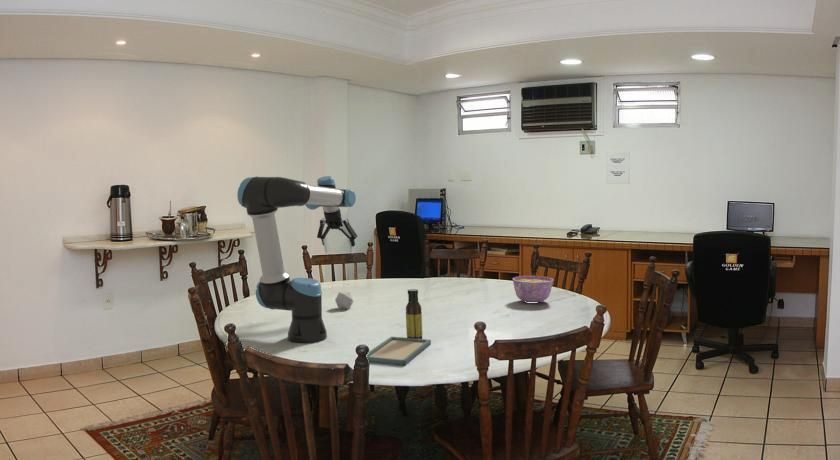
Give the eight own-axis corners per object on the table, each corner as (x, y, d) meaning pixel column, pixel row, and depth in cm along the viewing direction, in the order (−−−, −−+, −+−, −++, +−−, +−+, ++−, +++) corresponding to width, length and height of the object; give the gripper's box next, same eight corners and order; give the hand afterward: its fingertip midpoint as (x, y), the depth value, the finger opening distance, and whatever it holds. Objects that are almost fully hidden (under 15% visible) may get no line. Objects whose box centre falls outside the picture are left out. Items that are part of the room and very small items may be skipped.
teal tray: (391, 341, 250) (391, 336, 250) (430, 344, 245) (430, 339, 245) (361, 361, 224) (361, 356, 224) (404, 365, 219) (404, 360, 218)
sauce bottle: (422, 337, 255) (421, 287, 253) (423, 342, 248) (422, 291, 246) (405, 338, 254) (405, 288, 252) (406, 342, 248) (405, 291, 246)
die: (345, 312, 303) (356, 295, 305) (330, 303, 304) (341, 286, 306) (347, 315, 311) (358, 298, 313) (332, 306, 312) (343, 289, 314)
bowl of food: (508, 304, 314) (508, 281, 313) (516, 297, 333) (516, 274, 332) (550, 307, 308) (550, 283, 307) (555, 299, 326) (555, 276, 325)
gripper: (359, 206, 293) (367, 249, 301) (312, 206, 302) (321, 247, 311) (351, 213, 286) (360, 256, 294) (304, 212, 296) (313, 254, 304)
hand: (340, 251), depth 302 cm, fingers open, 13 cm apart
